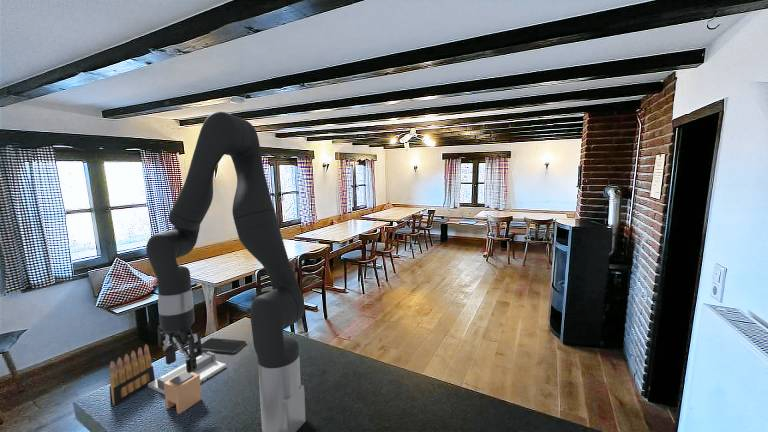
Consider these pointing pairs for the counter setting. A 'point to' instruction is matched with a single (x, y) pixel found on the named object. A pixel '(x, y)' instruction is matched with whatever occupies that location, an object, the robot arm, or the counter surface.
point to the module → (182, 391)
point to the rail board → (201, 372)
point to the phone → (222, 346)
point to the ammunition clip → (130, 376)
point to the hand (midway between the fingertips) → (181, 366)
